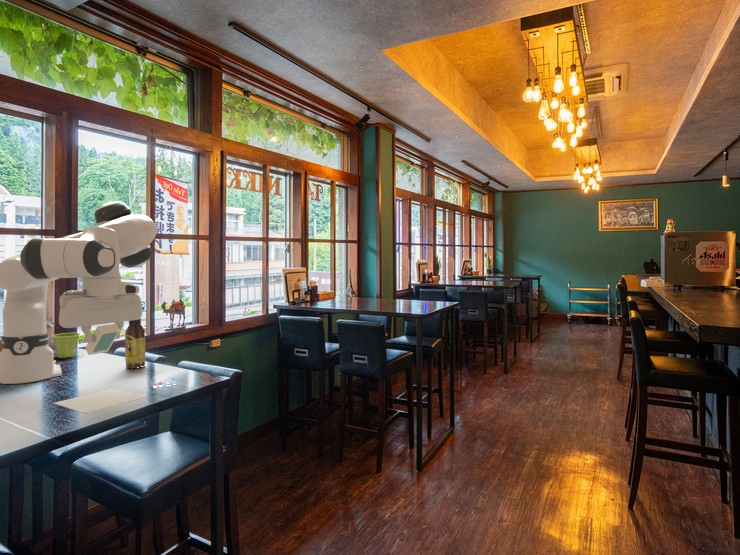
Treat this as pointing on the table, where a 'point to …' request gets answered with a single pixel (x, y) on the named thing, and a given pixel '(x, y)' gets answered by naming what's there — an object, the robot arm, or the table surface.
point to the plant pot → (65, 344)
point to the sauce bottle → (135, 344)
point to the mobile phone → (156, 384)
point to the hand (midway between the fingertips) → (103, 340)
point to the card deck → (103, 339)
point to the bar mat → (99, 400)
